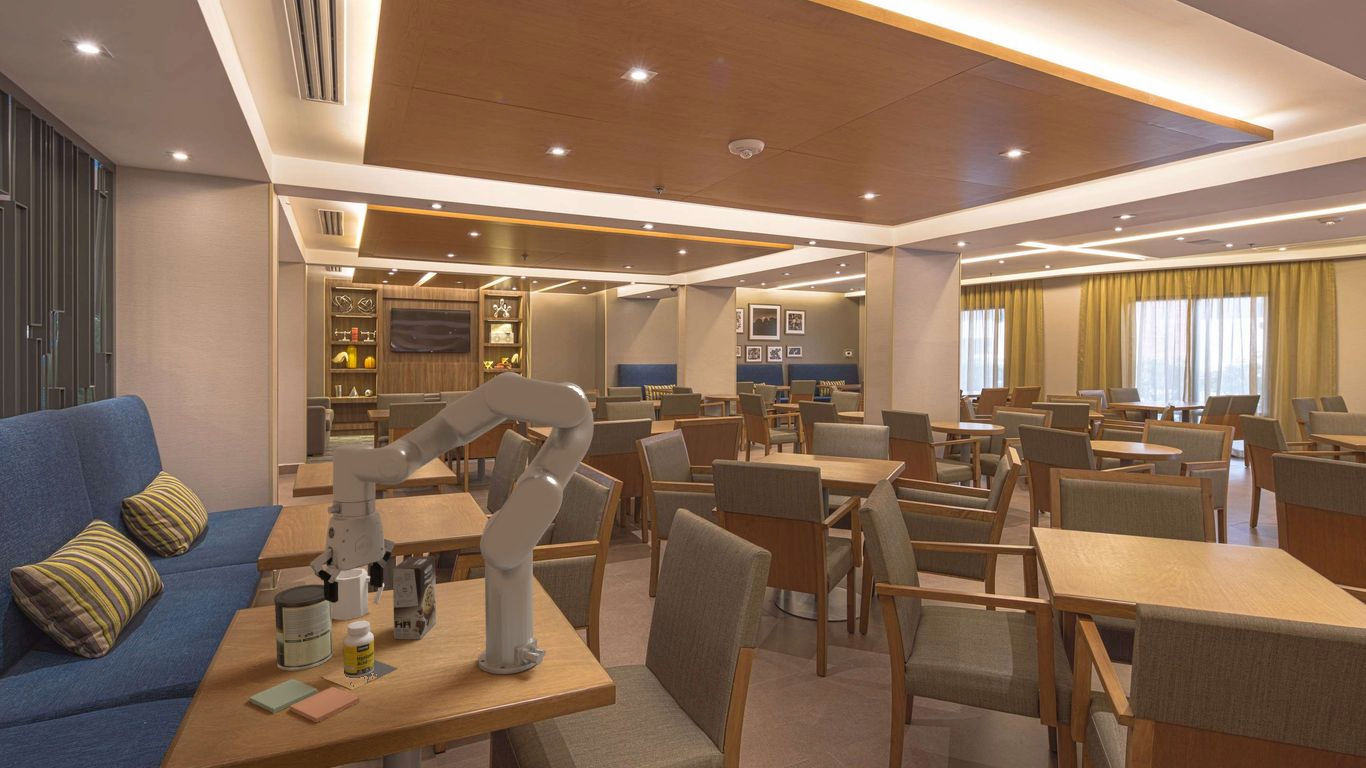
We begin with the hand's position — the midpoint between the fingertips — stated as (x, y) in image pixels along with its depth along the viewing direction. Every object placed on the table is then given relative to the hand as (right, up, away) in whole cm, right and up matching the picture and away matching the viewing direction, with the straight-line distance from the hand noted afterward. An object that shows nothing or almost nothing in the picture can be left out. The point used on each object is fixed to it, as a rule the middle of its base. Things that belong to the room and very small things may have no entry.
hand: (354, 593), depth 135 cm
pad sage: (-9, -17, -8) cm, 21 cm away
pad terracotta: (0, -17, -11) cm, 20 cm away
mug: (-14, -15, +31) cm, 37 cm away
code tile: (0, -16, +1) cm, 16 cm away
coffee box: (+4, -15, +21) cm, 26 cm away
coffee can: (-14, -16, +7) cm, 22 cm away
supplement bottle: (0, -16, +1) cm, 16 cm away
